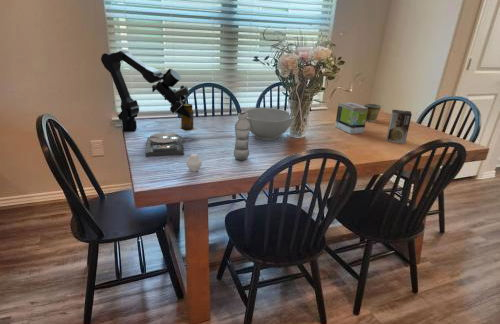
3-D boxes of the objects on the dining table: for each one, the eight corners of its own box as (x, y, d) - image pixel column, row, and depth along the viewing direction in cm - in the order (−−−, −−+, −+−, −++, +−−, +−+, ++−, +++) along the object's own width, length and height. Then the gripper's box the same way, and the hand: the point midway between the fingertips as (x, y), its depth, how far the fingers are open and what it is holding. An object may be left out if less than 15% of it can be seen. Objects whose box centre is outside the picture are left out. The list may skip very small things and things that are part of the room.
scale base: (146, 156, 138) (145, 149, 137) (147, 141, 156) (147, 134, 155) (184, 154, 142) (183, 147, 141) (181, 140, 160) (181, 133, 159)
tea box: (364, 133, 184) (369, 107, 178) (349, 134, 180) (353, 108, 174) (348, 125, 196) (352, 101, 191) (334, 126, 193) (337, 102, 187)
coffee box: (404, 140, 174) (411, 111, 168) (405, 144, 168) (412, 113, 162) (386, 138, 177) (392, 109, 170) (386, 141, 171) (393, 111, 165)
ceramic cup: (380, 123, 204) (383, 107, 200) (364, 122, 204) (367, 106, 200) (373, 117, 216) (376, 103, 212) (358, 117, 216) (361, 102, 212)
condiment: (190, 125, 169) (189, 102, 164) (198, 129, 163) (198, 106, 158) (177, 127, 165) (176, 103, 160) (185, 131, 159) (184, 107, 154)
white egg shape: (187, 167, 130) (186, 150, 128) (202, 167, 131) (202, 151, 128) (185, 173, 125) (184, 156, 122) (201, 173, 125) (201, 157, 122)
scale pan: (149, 144, 143) (149, 141, 143) (150, 135, 155) (150, 132, 154) (179, 143, 146) (179, 140, 146) (178, 134, 158) (178, 131, 157)
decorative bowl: (233, 140, 163) (233, 116, 158) (251, 126, 186) (252, 105, 182) (284, 148, 155) (287, 124, 150) (297, 133, 178) (299, 111, 173)
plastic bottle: (233, 155, 143) (234, 111, 136) (248, 156, 144) (250, 112, 136) (233, 161, 138) (234, 115, 130) (249, 161, 138) (251, 116, 130)
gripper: (176, 84, 147) (201, 109, 152) (181, 77, 164) (203, 100, 169) (159, 100, 149) (184, 124, 154) (166, 92, 166) (188, 114, 171)
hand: (190, 115), depth 162 cm, fingers closed on condiment, 6 cm apart
